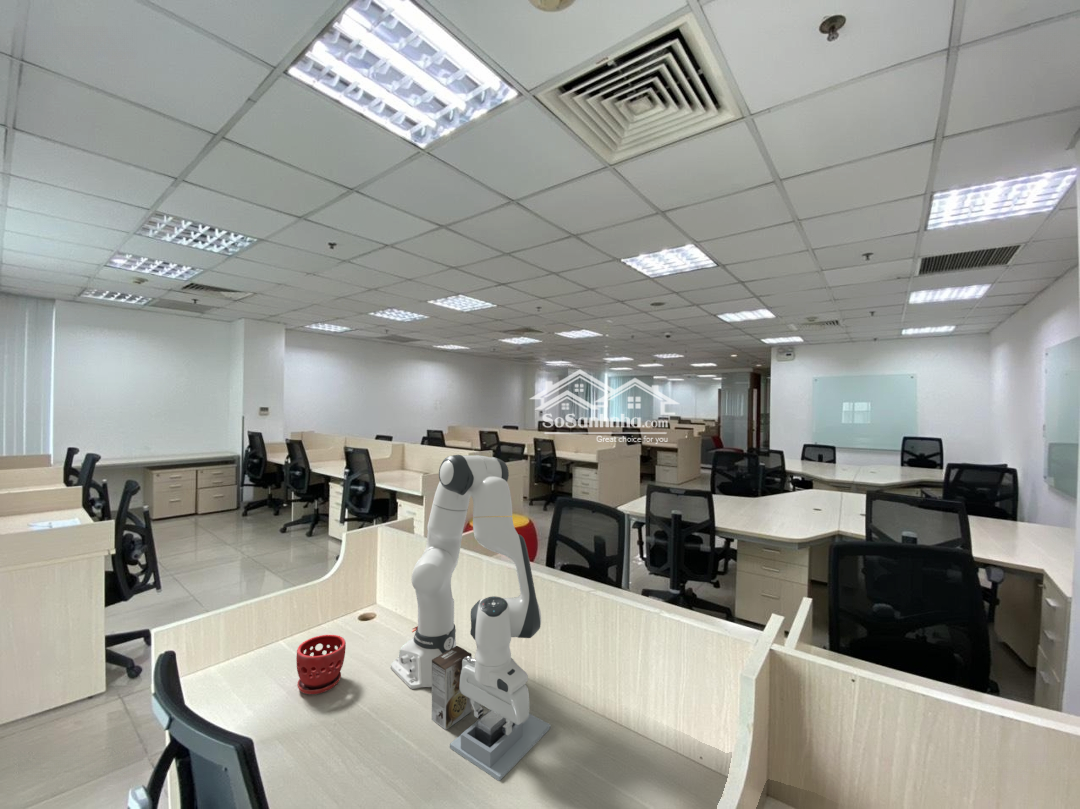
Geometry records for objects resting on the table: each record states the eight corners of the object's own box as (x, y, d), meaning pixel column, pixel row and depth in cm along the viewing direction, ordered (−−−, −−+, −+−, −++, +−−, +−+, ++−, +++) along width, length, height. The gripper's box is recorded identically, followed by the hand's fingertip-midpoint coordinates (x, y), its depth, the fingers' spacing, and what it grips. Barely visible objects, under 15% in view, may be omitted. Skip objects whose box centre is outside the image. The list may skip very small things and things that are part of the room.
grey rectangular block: (475, 746, 107) (475, 721, 107) (494, 729, 113) (494, 705, 113) (490, 756, 104) (490, 730, 104) (509, 738, 110) (509, 713, 110)
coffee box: (457, 701, 124) (457, 644, 124) (472, 712, 120) (473, 652, 120) (430, 719, 117) (430, 658, 117) (445, 731, 113) (446, 668, 113)
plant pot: (309, 705, 122) (309, 662, 122) (288, 687, 130) (288, 646, 130) (353, 682, 133) (354, 642, 133) (331, 666, 141) (331, 628, 141)
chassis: (449, 747, 108) (450, 727, 108) (503, 703, 124) (503, 685, 124) (499, 781, 98) (499, 758, 98) (550, 728, 114) (550, 709, 114)
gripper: (453, 659, 112) (453, 713, 112) (516, 690, 100) (516, 751, 100) (471, 648, 117) (471, 700, 117) (533, 676, 105) (532, 734, 105)
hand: (492, 724), depth 108 cm, fingers open, 8 cm apart
